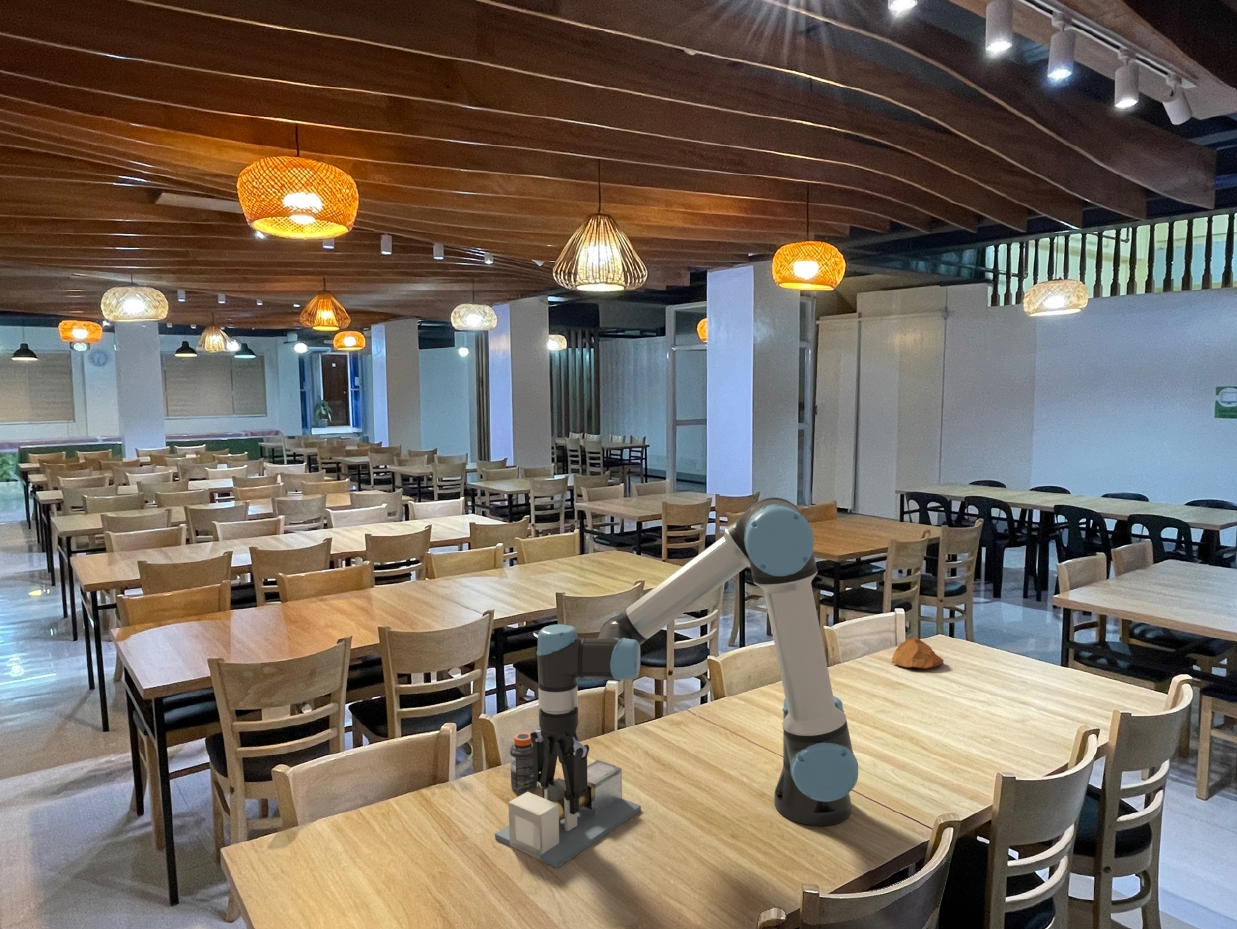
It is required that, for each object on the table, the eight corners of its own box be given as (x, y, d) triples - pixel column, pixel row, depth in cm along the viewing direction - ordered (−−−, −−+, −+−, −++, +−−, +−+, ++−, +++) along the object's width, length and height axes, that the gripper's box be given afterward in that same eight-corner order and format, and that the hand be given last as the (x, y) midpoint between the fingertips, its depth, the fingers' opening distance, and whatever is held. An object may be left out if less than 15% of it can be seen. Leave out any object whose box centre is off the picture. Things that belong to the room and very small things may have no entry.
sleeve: (622, 798, 166) (621, 768, 165) (595, 815, 159) (595, 784, 158) (598, 789, 170) (597, 759, 169) (571, 805, 163) (570, 775, 162)
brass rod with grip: (604, 799, 163) (603, 768, 162) (553, 831, 151) (552, 798, 150) (587, 793, 165) (587, 762, 165) (536, 824, 154) (535, 791, 153)
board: (640, 810, 163) (640, 805, 163) (556, 868, 143) (556, 863, 143) (581, 787, 173) (581, 782, 173) (495, 838, 153) (494, 833, 153)
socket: (559, 848, 150) (558, 804, 149) (540, 860, 146) (539, 815, 145) (528, 834, 155) (527, 791, 154) (509, 845, 151) (508, 802, 150)
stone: (901, 680, 240) (888, 648, 242) (893, 675, 255) (880, 645, 257) (949, 663, 239) (935, 631, 241) (938, 659, 253) (925, 629, 255)
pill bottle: (543, 782, 175) (542, 732, 174) (531, 795, 170) (530, 743, 169) (518, 778, 177) (517, 728, 176) (506, 791, 172) (504, 739, 171)
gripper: (606, 711, 151) (608, 830, 153) (539, 691, 162) (541, 801, 164) (579, 724, 145) (582, 847, 148) (512, 702, 156) (515, 817, 159)
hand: (561, 823), depth 156 cm, fingers open, 5 cm apart
